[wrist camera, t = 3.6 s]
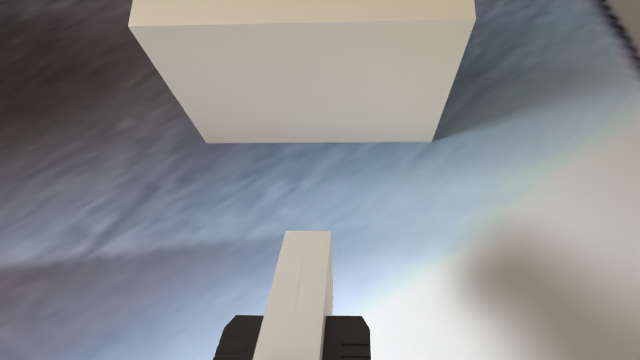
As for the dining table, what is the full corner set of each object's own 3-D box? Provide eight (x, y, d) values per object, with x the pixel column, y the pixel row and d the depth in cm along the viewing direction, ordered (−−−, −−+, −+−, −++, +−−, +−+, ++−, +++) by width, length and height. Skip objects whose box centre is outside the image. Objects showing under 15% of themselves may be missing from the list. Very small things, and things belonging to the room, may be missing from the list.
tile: (206, 143, 27) (128, 26, 17) (212, 88, 28) (141, -50, 19) (431, 142, 26) (475, 19, 17) (428, 85, 27) (468, -60, 18)
